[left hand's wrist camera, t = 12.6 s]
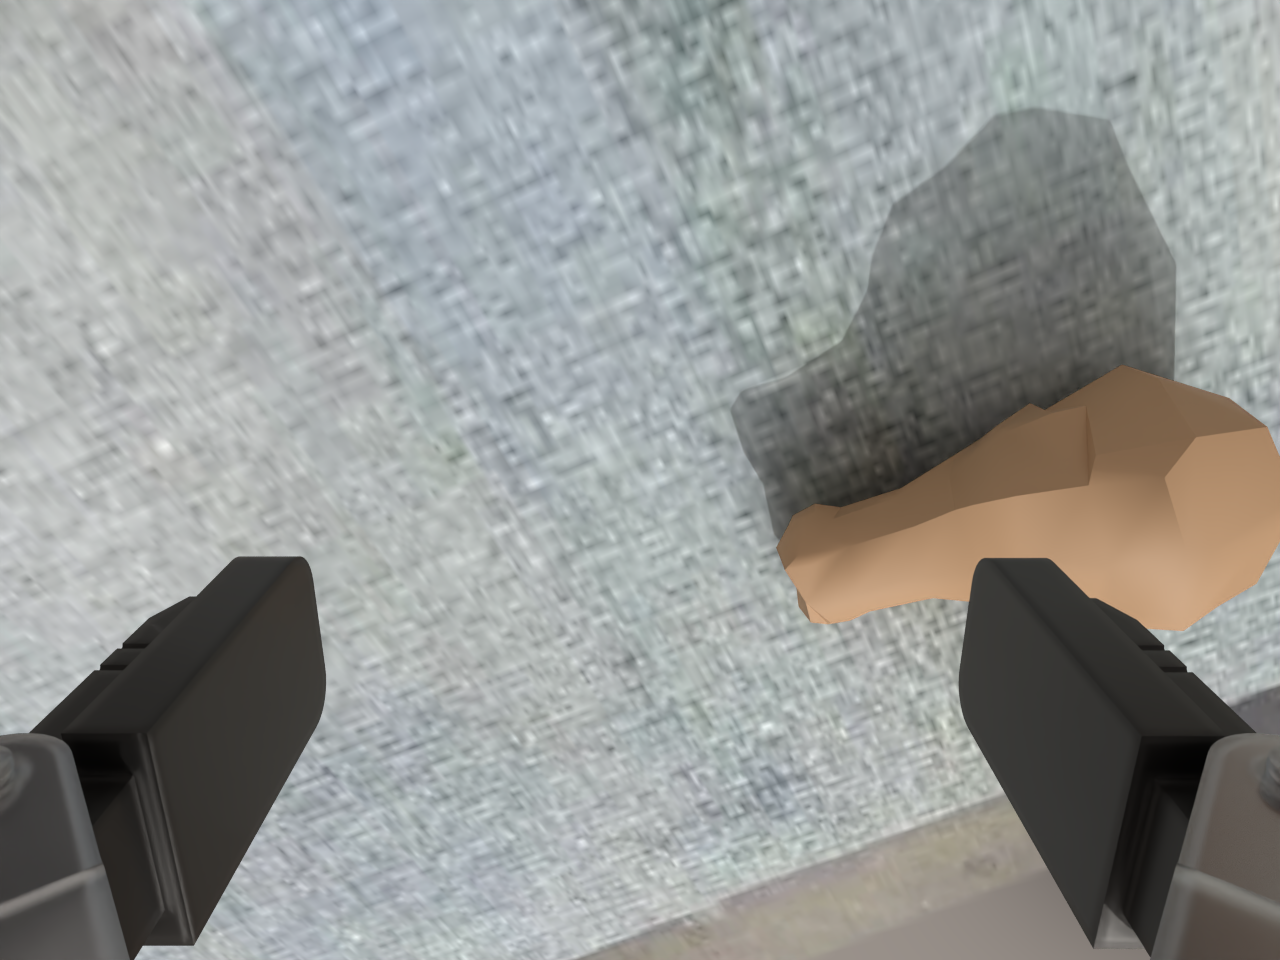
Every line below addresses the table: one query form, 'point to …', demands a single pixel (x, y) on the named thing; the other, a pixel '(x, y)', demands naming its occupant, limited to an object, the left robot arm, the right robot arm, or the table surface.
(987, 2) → the table surface
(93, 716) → the left robot arm
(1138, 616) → the squash
